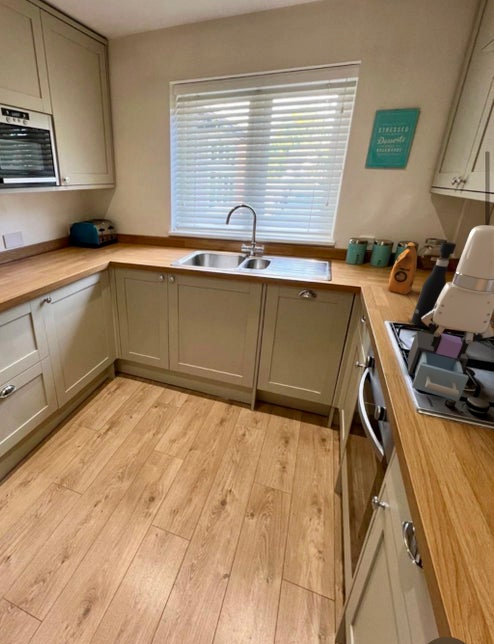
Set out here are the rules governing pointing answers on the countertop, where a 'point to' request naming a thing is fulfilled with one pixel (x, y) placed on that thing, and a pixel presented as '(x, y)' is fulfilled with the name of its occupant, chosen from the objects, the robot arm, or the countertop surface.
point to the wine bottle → (433, 285)
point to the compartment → (423, 344)
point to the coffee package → (404, 271)
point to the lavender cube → (449, 345)
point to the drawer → (439, 376)
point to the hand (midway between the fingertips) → (445, 351)
